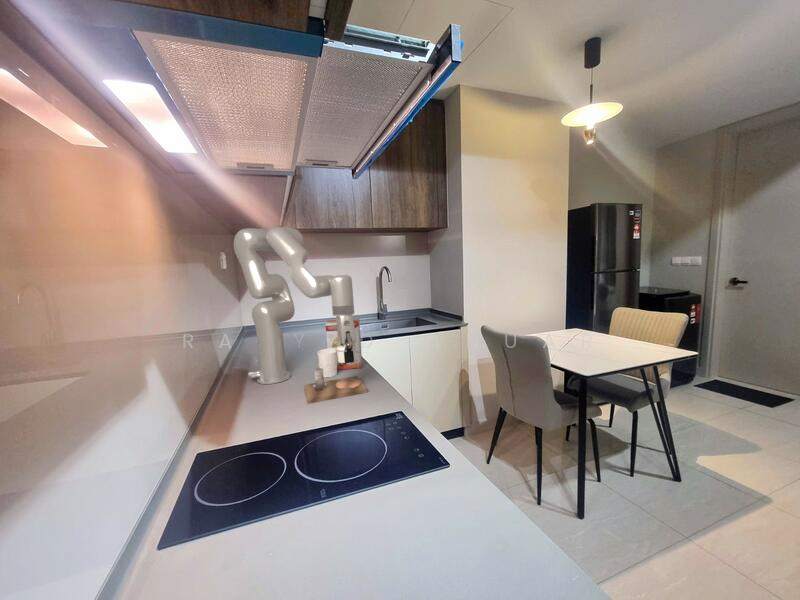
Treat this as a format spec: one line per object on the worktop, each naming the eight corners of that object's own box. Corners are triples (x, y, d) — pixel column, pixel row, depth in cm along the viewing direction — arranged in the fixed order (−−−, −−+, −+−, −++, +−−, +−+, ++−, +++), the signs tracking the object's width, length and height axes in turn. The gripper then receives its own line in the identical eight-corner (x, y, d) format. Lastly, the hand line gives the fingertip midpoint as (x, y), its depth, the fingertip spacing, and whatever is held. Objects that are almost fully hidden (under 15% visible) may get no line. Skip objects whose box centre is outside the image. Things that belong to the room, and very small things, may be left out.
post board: (307, 403, 104) (305, 378, 103) (304, 388, 117) (302, 366, 116) (366, 392, 111) (365, 368, 110) (357, 379, 124) (356, 358, 123)
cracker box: (328, 370, 136) (324, 322, 134) (330, 366, 142) (327, 320, 140) (361, 368, 136) (358, 320, 134) (362, 364, 142) (359, 318, 140)
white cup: (332, 379, 126) (330, 354, 125) (315, 377, 128) (313, 353, 127) (342, 372, 133) (340, 348, 132) (325, 371, 136) (324, 348, 135)
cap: (358, 360, 112) (357, 346, 112) (339, 364, 110) (338, 349, 109) (354, 356, 118) (353, 343, 118) (336, 359, 116) (335, 345, 116)
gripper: (359, 312, 105) (363, 364, 107) (349, 306, 122) (352, 352, 124) (336, 314, 103) (341, 368, 105) (329, 308, 119) (333, 355, 121)
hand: (347, 359), depth 114 cm, fingers closed on cap, 6 cm apart
